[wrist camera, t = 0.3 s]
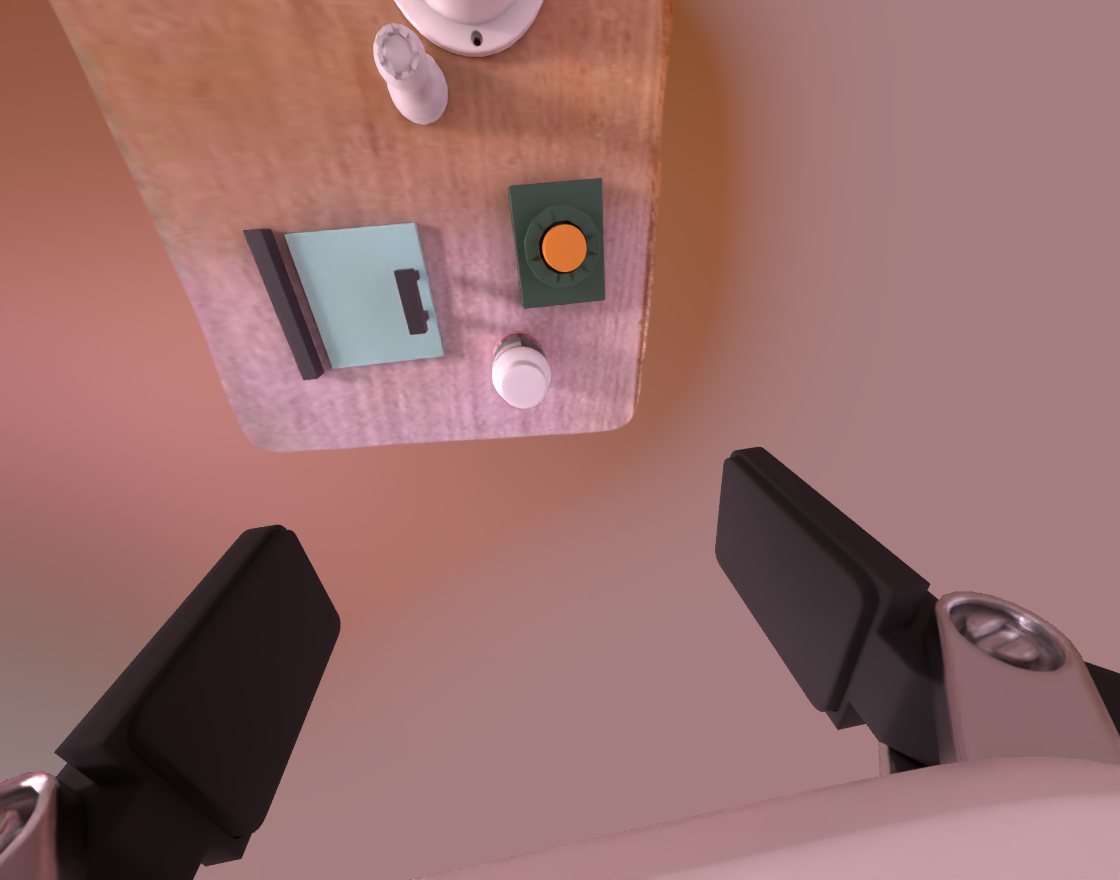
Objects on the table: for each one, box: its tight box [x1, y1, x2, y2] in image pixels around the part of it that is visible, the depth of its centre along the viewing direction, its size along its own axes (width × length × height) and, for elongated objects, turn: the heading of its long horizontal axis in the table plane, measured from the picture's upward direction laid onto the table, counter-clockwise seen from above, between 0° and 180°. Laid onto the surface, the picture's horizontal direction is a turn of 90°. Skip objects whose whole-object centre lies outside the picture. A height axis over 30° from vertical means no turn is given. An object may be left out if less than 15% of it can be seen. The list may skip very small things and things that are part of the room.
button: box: [542, 224, 587, 272], centre depth 34 cm, size 4×4×2 cm
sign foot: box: [243, 229, 324, 380], centre depth 37 cm, size 13×1×2 cm, turn 5°
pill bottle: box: [492, 332, 551, 409], centre depth 38 cm, size 5×5×10 cm
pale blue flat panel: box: [284, 223, 445, 369], centre depth 36 cm, size 12×11×6 cm
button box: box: [508, 178, 605, 309], centre depth 37 cm, size 10×8×4 cm
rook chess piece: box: [373, 23, 448, 125], centre depth 28 cm, size 4×4×8 cm
